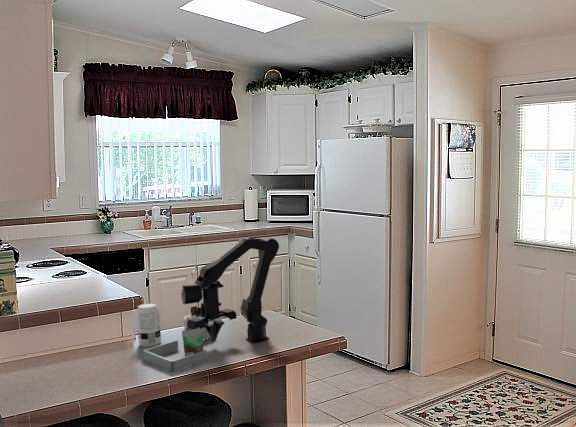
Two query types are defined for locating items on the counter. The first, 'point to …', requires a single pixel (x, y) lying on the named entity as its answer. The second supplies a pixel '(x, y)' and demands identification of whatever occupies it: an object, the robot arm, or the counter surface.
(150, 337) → the supplement can
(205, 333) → the lumpy-topped squat cylinder
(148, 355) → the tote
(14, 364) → the counter surface
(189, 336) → the food container
